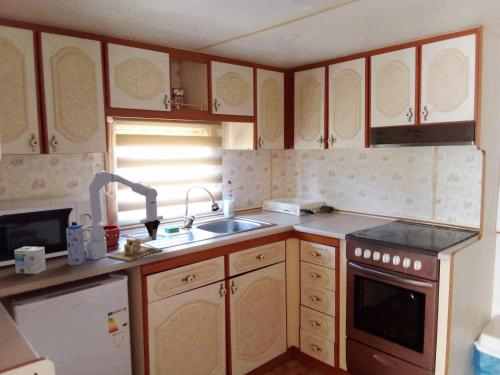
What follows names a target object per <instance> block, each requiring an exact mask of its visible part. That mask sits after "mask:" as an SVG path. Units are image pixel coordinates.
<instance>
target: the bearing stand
mask: <svg viewBox="0 0 500 375" xmlns="http://www.w3.org/2000/svg"><path fill="white" fill-rule="evenodd" d="M140 239H141V238H139V237H134V236H133V237H129V238H126V240H125V241H126V244H130V245H133V250H134V255H126V254H125V251H124V250H122V251H118V252H116V253H112V254H111V255H108V256H107V258H109V259H113V260H117V261H123V262H126V263H131V262H134V261H137V260H140V259H143V258H146V257H149V256H152V255H151V254H153V255H155V254H154V253H156V254H158V253H157V252H159V253H161V252H160V251H162V252H163V249H161V248H158V247H157V248H156V247H150V246H145V245H142V244H141V240H140ZM128 249H129V248H128ZM148 255H149V256H148ZM145 256H146V257H145Z"/></svg>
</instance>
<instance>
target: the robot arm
mask: <svg viewBox="0 0 500 375" xmlns="http://www.w3.org/2000/svg"><path fill="white" fill-rule="evenodd" d="M109 183H120V184H122V185H124V186H127V187H129V188H131V191H132V192H134V193H136V194H139V195H140V196H142V197H143V196H144V197H145V215H146V216H145V218H143V219H140V220H139V221H140V224H141V225H144V227H145V228H146V230H147V233H148V236H149V235H152V234H153V229H156V235H157V233H158V228H159V226H160V224H161V220H164V216H163V215H158V205H157V204H158V203H157V197H158V191H157V190H156V189H155V188H153V187H151V186H150V185H146V184H144V183H143V181H140V180H139V181H138V180H136V181H132V180H130V179H127V178H126V177H123V176H121V175H119V174H117V173H114V172H110V171H107V170H99V171H98V172H96V173H95V174H94V176H93V178H92V180H91V182H90V183H89V186H88V190H89V191H88V192H89V203H90V213H91V228H90V234H91V238H90V241H87V242H86V244H85V259H89V260H93V261H96V260H99V259H102V258H103V259H104V258H108V255H112V254H110V253H107V251H108V250H107V248H106V237H105V235H106V232H105V230H104V229H103V226H104V224H103V218H102V205H101V196H100V195H101V194H100V191H101V189H102V188H103V187H104V186H106V185H107V184H109Z"/></svg>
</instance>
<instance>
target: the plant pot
mask: <svg viewBox="0 0 500 375" xmlns="http://www.w3.org/2000/svg"><path fill="white" fill-rule="evenodd" d="M103 229H104V230H105V232H106V235H105V237H106V248H107V251H112V250H116V249H117V248H119V246H120V243H119V240H120V234H121V233H120V226H119V225H115V224H108V225H103Z"/></svg>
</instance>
